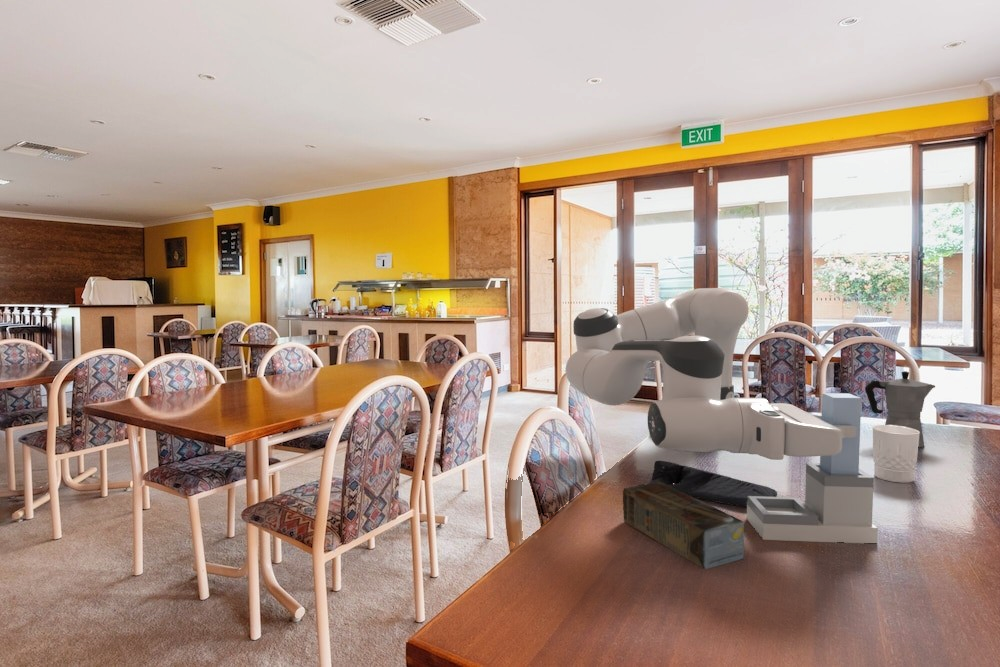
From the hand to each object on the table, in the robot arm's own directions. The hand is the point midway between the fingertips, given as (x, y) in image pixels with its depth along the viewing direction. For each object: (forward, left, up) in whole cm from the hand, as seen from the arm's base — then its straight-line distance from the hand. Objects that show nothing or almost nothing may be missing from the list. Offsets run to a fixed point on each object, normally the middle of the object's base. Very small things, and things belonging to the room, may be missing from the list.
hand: (845, 426), depth 91 cm
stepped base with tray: (-3, -3, -17) cm, 18 cm away
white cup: (-4, +37, -17) cm, 41 cm away
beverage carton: (-15, -22, -18) cm, 32 cm away
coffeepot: (-13, +68, -17) cm, 71 cm away
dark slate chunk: (-25, +2, -18) cm, 30 cm away
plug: (-1, -1, -8) cm, 8 cm away
